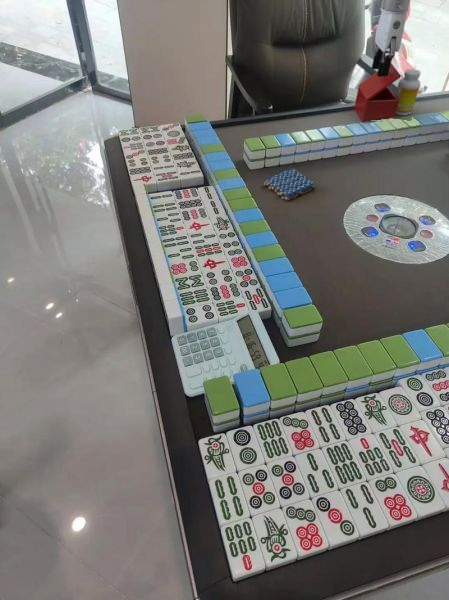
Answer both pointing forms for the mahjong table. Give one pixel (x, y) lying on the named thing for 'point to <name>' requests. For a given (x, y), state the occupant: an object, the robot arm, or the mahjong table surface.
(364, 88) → the lid
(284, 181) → the woven mat
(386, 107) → the box
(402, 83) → the supplement bottle
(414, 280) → the mahjong table surface
